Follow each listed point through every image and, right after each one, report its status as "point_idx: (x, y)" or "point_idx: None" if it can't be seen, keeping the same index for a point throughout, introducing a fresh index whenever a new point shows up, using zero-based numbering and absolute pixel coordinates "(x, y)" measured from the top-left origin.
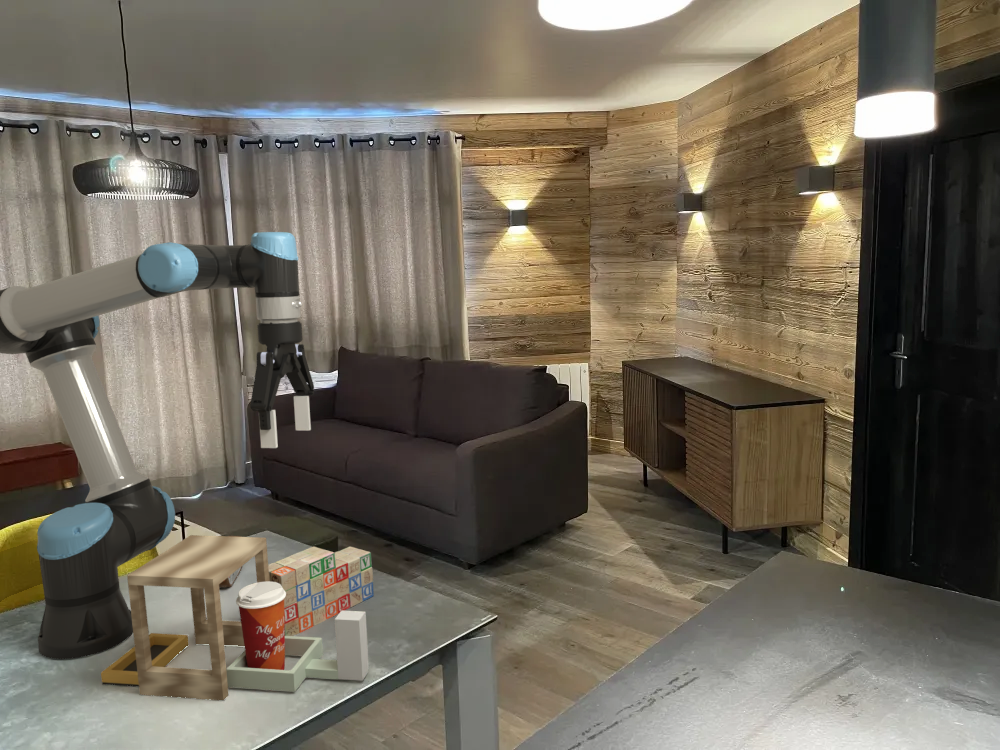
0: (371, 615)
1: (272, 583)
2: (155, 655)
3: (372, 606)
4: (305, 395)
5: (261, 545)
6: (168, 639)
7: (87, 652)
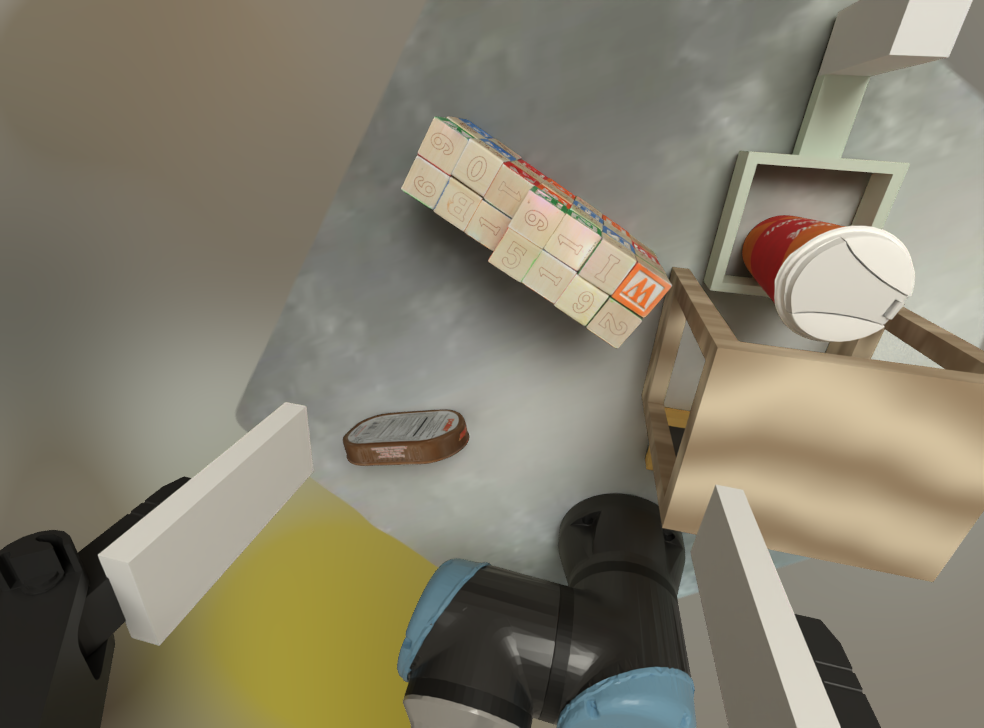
0: (558, 96)
1: (810, 275)
2: None
3: (516, 107)
4: (101, 580)
5: (748, 347)
6: None
7: None
